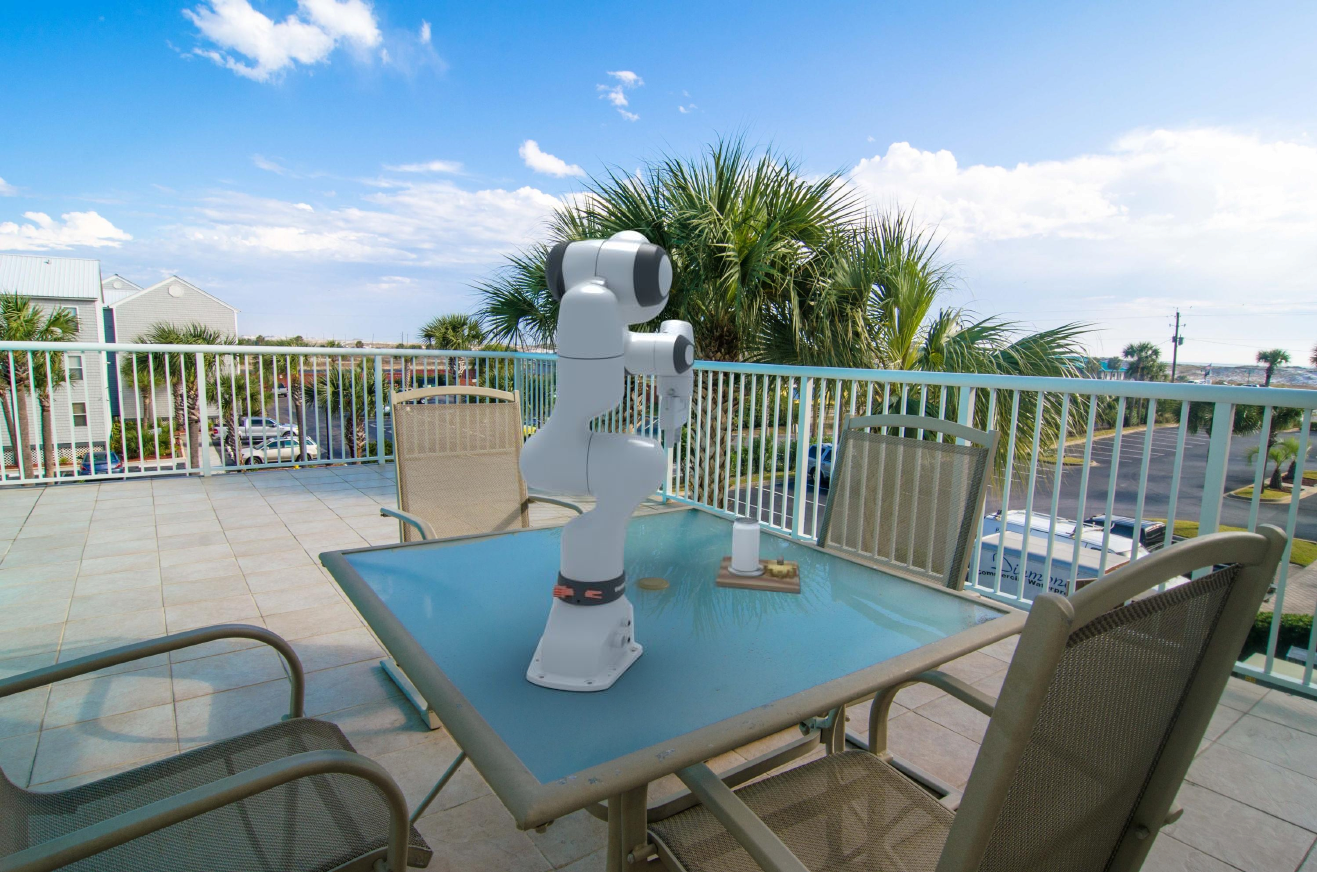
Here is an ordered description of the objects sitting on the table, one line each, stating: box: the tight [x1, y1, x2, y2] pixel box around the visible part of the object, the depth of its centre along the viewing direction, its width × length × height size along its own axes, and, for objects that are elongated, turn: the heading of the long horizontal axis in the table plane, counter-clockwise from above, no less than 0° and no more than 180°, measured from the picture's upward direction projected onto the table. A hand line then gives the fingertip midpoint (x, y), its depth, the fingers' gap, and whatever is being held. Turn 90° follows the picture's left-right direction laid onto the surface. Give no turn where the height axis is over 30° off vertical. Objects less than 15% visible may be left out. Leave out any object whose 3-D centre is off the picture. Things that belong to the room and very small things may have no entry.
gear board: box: [715, 554, 801, 594], centre depth 157 cm, size 20×19×6 cm
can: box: [731, 516, 761, 572], centre depth 156 cm, size 6×6×12 cm
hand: (673, 445), depth 158 cm, fingers open, 8 cm apart
